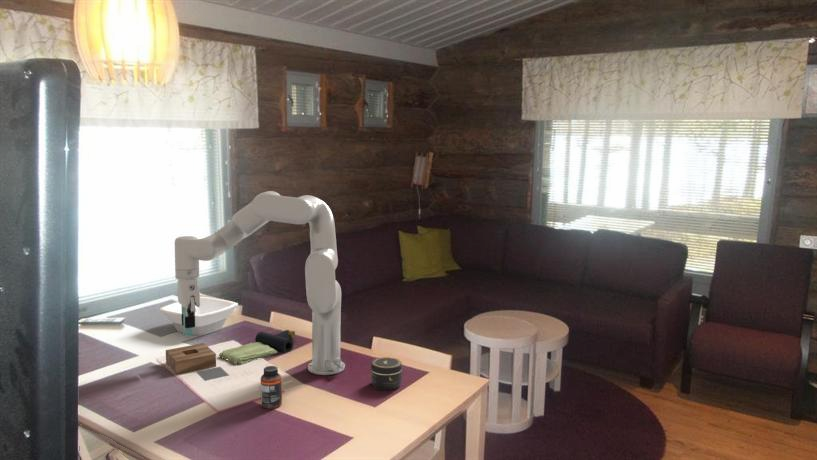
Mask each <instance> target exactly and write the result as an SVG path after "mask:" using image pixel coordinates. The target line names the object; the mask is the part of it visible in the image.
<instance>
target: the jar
mask: <svg viewBox="0 0 817 460" xmlns="http://www.w3.org/2000/svg"><path fill="white" fill-rule="evenodd" d="M402 371H403V362H402V361H401V360H400V359H398V358H395V357H387V356H385V357H378V358H375V359H373V360H372V361H371V364H370V378H371V379H370V380H371V385H372V386H373V388H375V389H376V390H379V391H393V390H397V389H398V388H399V387H400V386H401V384H402V376H403V373H402Z"/></svg>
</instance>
